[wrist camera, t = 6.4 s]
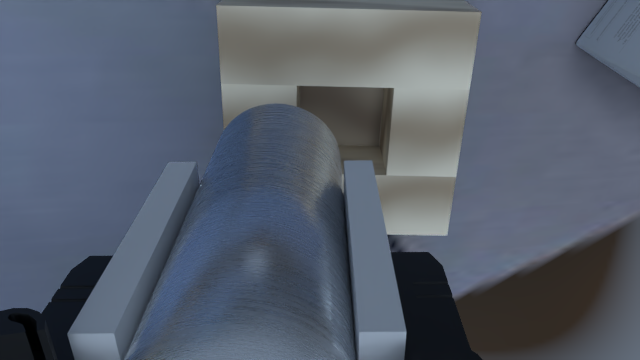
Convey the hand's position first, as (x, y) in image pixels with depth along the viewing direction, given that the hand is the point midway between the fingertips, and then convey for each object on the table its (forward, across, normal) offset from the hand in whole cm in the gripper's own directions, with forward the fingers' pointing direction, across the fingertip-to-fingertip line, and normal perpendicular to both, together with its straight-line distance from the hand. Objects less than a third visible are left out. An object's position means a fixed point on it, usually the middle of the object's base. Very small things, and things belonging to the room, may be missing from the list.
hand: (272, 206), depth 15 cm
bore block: (+23, -3, +4) cm, 23 cm away
